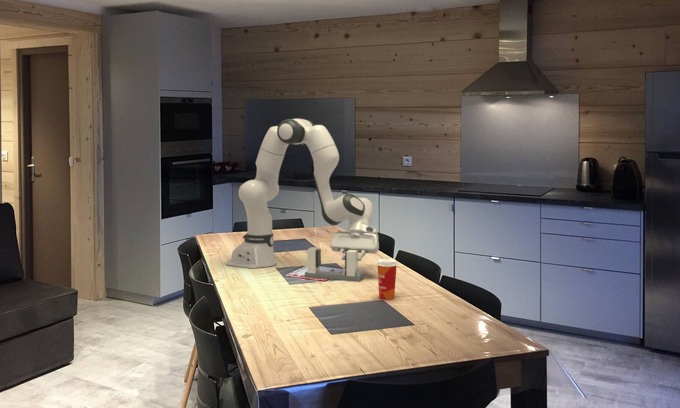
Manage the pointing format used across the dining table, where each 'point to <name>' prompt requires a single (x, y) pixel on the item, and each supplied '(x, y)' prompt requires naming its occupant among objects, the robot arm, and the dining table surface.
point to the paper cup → (386, 278)
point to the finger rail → (315, 272)
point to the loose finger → (351, 262)
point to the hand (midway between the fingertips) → (351, 259)
